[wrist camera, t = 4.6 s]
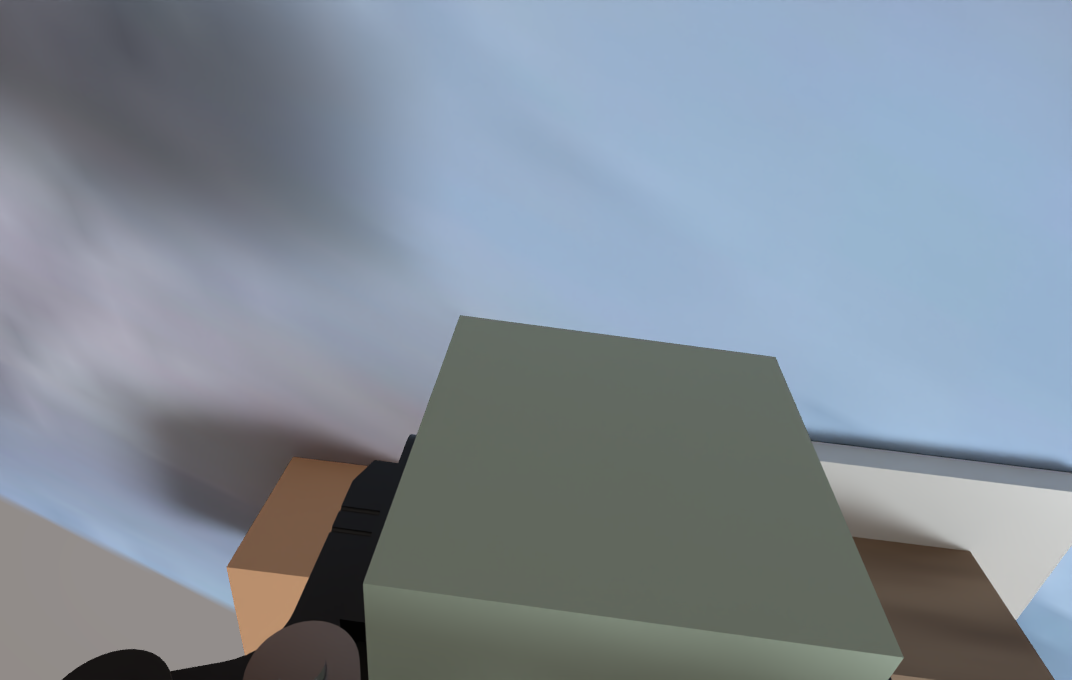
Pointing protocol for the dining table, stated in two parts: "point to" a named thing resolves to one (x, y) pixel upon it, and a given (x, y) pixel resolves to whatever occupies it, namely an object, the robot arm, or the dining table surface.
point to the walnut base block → (947, 615)
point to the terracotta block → (285, 545)
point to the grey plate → (958, 510)
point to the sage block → (616, 523)
